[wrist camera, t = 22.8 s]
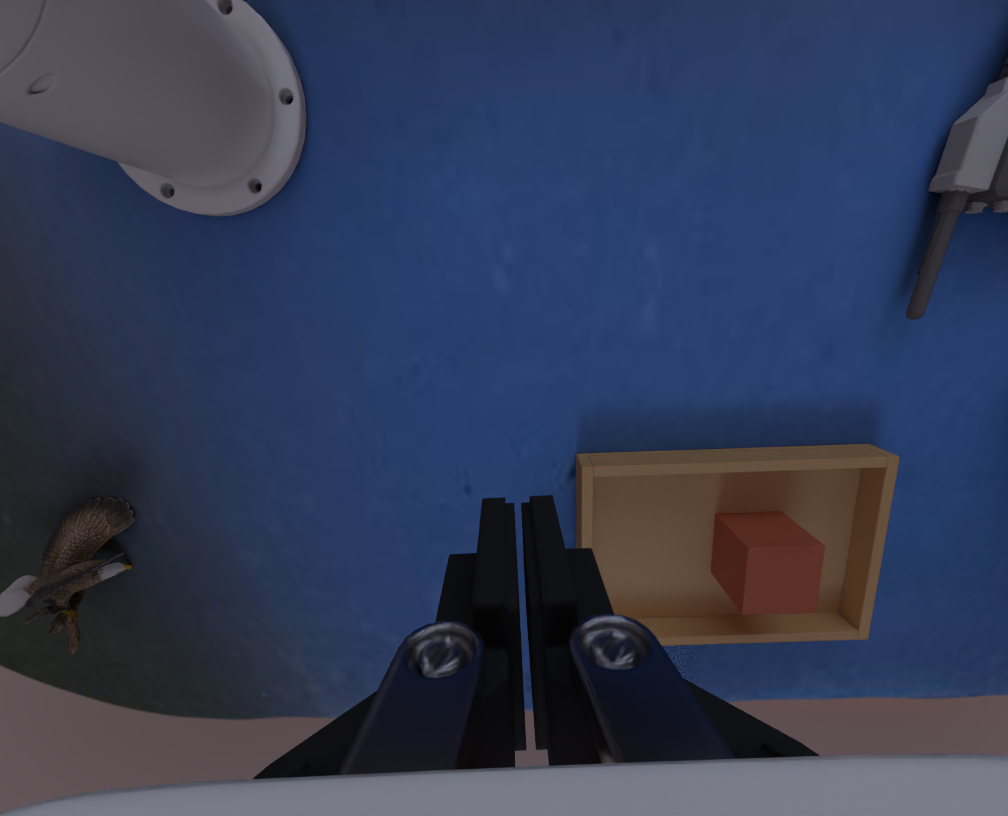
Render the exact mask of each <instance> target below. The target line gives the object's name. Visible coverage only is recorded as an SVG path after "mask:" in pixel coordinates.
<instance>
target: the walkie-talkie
mask: <svg viewBox="0 0 1008 816" xmlns="http://www.w3.org/2000/svg"><path fill="white" fill-rule="evenodd" d="M928 191H930V192H936V193H942V195H941V198H940V200H939V203H938V206H937V209H936V213H937V217H936V220H935V223H934V226H933V229H932V232H931V235H930V238H929V240H928V243H927V246H926V249H925V252H924V255H923V258H922V261H921V264H920V267H919V270H918V273H917V274H918V275H919V276H918V279H917V282H916V285H915V288H914V291H913V294H912V297H911V300H910V303H909V306H908V309H907V312H906V317H907V318H909V319H918V318H920V317H922V316H923V314H924V312H925V310H926V307H927V304H928V301H929V298H930V295H931V292H932V290H933V287H934V284H935V281H936V278H937V275H938V273H939V270H940V267H941V264H942V261H943V258H944V255H945V253H946V250H947V247H948V244H949V241H950V238H951V236H952V233H953V230H954V227H955V224H956V221H957V218H958V216H959V214H960V213H961V212H963V210H964V207H965V206H966V210H965V213H967V214H977V213H978V212H979V213H982V211H983V208H984V207H985V208H991V209H994V211H993V212H997V213H1006V212H1007V211H1008V52H1007V55H1006V59H1005V62H1004V64H1003V68H1002V71H1001V73H1000V75H999V78H998V80H997V82H994V83H992V84H990V85H988V87H987V90H986V93H985V96H983V97H982V98H981V99H980V100H979V101H978V102H977V103H975V104H974V105H973V106H972V107H971V108H970V109H969V110H968V111H967V112H966V113H964V114H963V115H962V116H961V117H960V118H959V119H958V120H957V121H956V122H954V124H953V125H952V128H951V131H950V134H949V137H948V140H947V143H946V146H945V149H944V152H943V154H942V157H941V160H940V163H939V166H938V169H937V172H936V175H935V176H934V177H933V178H932V180H931V183H930V186H929V189H928Z"/></svg>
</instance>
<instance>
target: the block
mask: <svg viewBox="0 0 1008 816" xmlns="http://www.w3.org/2000/svg"><path fill="white" fill-rule="evenodd" d="M824 552H825V545H824V544H822V543H821V542H820V541H818V540H817V539H816V538H815V537H813V536H812V535H811V534H810V533H808V532H807V531H806V530H805V529H803V528H802V527H801V526H800V525H798V524H797V523H796V522H795V521H793V520H792V519H791V518H789V517H788V516H787V515H786V514H784V513H783V512H782V511H775V512H746V513H716V514H715V523H714V536H713V549H712V562H711V573H712V575H713V576H714V577H715V579H716V580H717V581H718V583H719V584H720V586H721V587H722V588H723V590H724V591H725V592H726V594H727V595H728V596H729V598H730V599H731V600H732V602H733V603H734V605H735V606H736V607H737V609H738V610H739V611H740V613H741V614H742V615H748V614H779V613H811V612H816V609H817V602H818V595H819V588H820V580H821V573H822V566H823V559H824Z"/></svg>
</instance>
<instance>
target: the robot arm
mask: <svg viewBox="0 0 1008 816" xmlns="http://www.w3.org/2000/svg"><path fill="white" fill-rule="evenodd" d="M231 11H232V12H231ZM292 98H293V101H292V103H291V104H289V100H290V99H292ZM306 119H307V117H306V106H305V96H304V92H303V88H302V85H301V81H300V77H299V74H298V72H297V69H296V67H295V65H294V63H293V60H292V58H291V56H290V54H289V52H288V51H287V49H286V48H285V46H284V45H283V43H282V41H281V40H280V38H279V37H278V35H277V34H276V33H275V32H274V31H273V30H272V28H271V27H270V26H269V25H268V24H267V23H266V21H265V20H264V19H263V18H262V17H261V16H260V15H259V14H258V13H257V12H256V11H254V10H253V9H252V8H251V7H250V6H249V5H248V4H247V3H246V2H244V1H243V0H0V123H3V124H6V125H9V126H12V127H15V128H18V129H21V130H24V131H27V132H30V133H33V134H36V135H39V136H42V137H45V138H48V139H51V140H54V141H57V142H60V143H63V144H66V145H69V146H72V147H75V148H78V149H81V150H84V151H87V152H90V153H93V154H96V155H99V156H102V157H105V158H108V159H111V160H114V161H117V162H118V163H119V165H120V166H121V167H122V169H123V170H124V171H125V172H126V174H127V175H128V176H129V177H130V178H132V179H133V180H134V181H135V182H136V183H137V184H138V185H139V186H140V187H141V188H142V189H144V190H145V191H146V192H148V193H149V194H151V195H152V196H154V197H155V198H157V199H158V200H160V201H162V202H164V203H166V204H169V205H171V206H173V207H175V208H178V209H181V210H184V211H188V212H191V213H195V214H201V215H208V216H233V215H237V214H240V213H244V212H248V211H251V210H253V209H255V208H256V207H258V206H260V205H262V204H264V203H266V202H267V201H268V200H270V199H271V198H272V197H273V196H274V195H276V194H277V193H278V192H279V191H280V190H281V189H282V187H283V186H284V185H285V184H286V182H287V181H288V180H289V178H290V177H291V176H292V174H293V171H294V169H295V167H296V165H297V163H298V161H299V159H300V156H301V152H302V148H303V145H304V141H305V132H306ZM261 184H262V188H261V190H260V192H259V190H258V187H259V185H261ZM521 508H522V529H523V551H524V572H525V594H526V613H527V628H528V642H529V656H530V671H531V685H532V699H533V713H534V727H535V742H536V749H537V750H542V749H548V759H549V766H532V767H515V751H520V750H526V734H525V713H524V692H523V671H522V651H521V631H520V610H519V590H518V571H517V551H516V531H515V512H514V503H506V504H505V498H484V499H482V508H481V517H480V527H479V537H478V546H477V553H469V554H451V555H450V556H449V559H448V564H447V568H446V573H445V578H444V583H443V588H442V593H441V598H440V602H439V607H438V612H437V617H436V622H435V623H431V624H427V625H425V626H423V627H421V628H419V629H417V630H415V631H414V632H412V633H411V634H410V635H409V636H407V637H406V638H405V639H404V641H403V642H402V644H401V645H400V646H399V648H398V650H397V652H396V654H395V656H394V658H393V660H392V662H391V664H390V666H389V668H388V670H387V672H386V674H385V676H384V678H383V680H382V682H381V684H380V686H379V688H378V690H377V691H376V692H374V693H373V694H372V695H370V696H369V697H367V698H366V699H364V700H363V701H361V702H360V703H358V704H357V705H356V706H354V707H353V708H351V709H350V710H348V711H347V712H345V713H344V714H342V715H341V716H340V717H338V718H337V719H335V720H334V721H332V722H331V723H329V724H328V725H327V726H325V727H324V728H322V729H321V730H319V731H318V732H316V733H315V734H313V735H312V736H310V737H309V738H308V739H306V740H305V741H304V742H302V743H300V744H299V745H297V746H296V747H294V748H293V749H292V750H290V751H289V752H287V753H286V754H285V755H283V756H281V757H280V758H279V759H277V760H276V761H274V762H273V763H271V764H270V765H269V766H268V767H266V768H265V769H264V770H263V771H261V772H260V773H259V774H258V775H257V776H255V777H254V778H253V779H250V780H231V781H211V782H210V781H209V782H192V783H182V784H169V785H157V786H146V787H134V788H123V789H111V790H101V791H95V792H89V793H83V794H77V795H71V796H65V797H59V798H54V799H50V800H46V801H42V802H38V803H35V804H30V805H27V806H23V807H19V808H15V809H11V810H8V811H4V812H0V816H1008V756H999V755H986V754H872V755H840V756H819V755H818V754H817V753H815V752H813V751H812V750H810V749H809V748H808V747H806V746H805V745H803V744H802V743H800V742H798V741H797V740H795V739H793V738H791V737H789V736H788V735H786V734H784V733H782V732H780V731H778V730H777V729H774V728H773V727H771V726H769V725H767V724H766V723H764V722H762V721H760V720H758V719H756V718H755V717H753V716H751V715H749V714H747V713H745V712H744V711H742V710H740V709H738V708H736V707H735V706H732V705H731V704H729V703H727V702H726V701H724V700H722V699H720V698H718V697H716V696H715V695H713V694H711V693H709V692H707V691H705V690H704V689H702V688H700V687H698V686H696V685H695V684H693V683H691V682H689V681H687V680H685V679H684V678H683V677H682V676H681V674H680V673H679V671H678V670H677V668H676V667H675V665H674V664H673V662H672V661H671V659H670V658H669V656H668V655H667V653H666V651H665V650H664V648H663V647H662V645H661V644H660V642H659V641H658V639H657V638H656V636H655V635H654V634H653V633H652V632H651V631H650V630H649V628H648V627H646V626H645V625H643V624H642V623H640V622H638V621H637V620H634V619H632V618H629V617H626V616H623V615H617V614H614V612H613V609H612V606H611V603H610V600H609V597H608V594H607V591H606V588H605V585H604V583H603V580H602V577H601V574H600V571H599V568H598V565H597V562H596V559H595V556H594V553H593V551H592V549H591V548H576V549H565V546H564V542H563V537H562V533H561V529H560V525H559V521H558V516H557V512H556V508H555V504H554V499H553V496H552V495H547V496H530V502H527V503H521Z"/></svg>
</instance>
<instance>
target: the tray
mask: <svg viewBox="0 0 1008 816" xmlns="http://www.w3.org/2000/svg"><path fill="white" fill-rule="evenodd" d="M899 458H900V457H899V456H897V455H895V454H892V453H890V452H888V451H885V450H883V449H881V448H878V447H876V446H873V445H871V444H848V445H818V446H789V447H759V448H729V449H700V450H670V451H640V452H611V453H581V454H576V548H591V549H592V551H593V553H594V556H595V559H596V562H597V565H598V568H599V571H600V574H601V577H602V580H603V583H604V585H605V588H606V591H607V594H608V597H609V600H610V603H611V606H612V609H613V612H614V614H617V615H623V616H626V617H629V618H632V619H634V620H637V621H638V622H640V623H642V624H643V625H645V626H646V627H648V628H649V630H650V631H651V632H652V633H653V634H654V635H655V636H656V638H657V639H658V641H659V642H660V644H661V645H662V646H666V645H698V644H731V643H764V642H796V641H829V640H857V639H858V640H865V639H868V635H869V630H870V624H871V618H872V613H873V607H874V601H875V595H876V590H877V584H878V578H879V572H880V567H881V561H882V555H883V550H884V544H885V538H886V532H887V527H888V521H889V515H890V510H891V504H892V498H893V492H894V487H895V481H896V475H897V470H898V464H899ZM775 511H782V512H783V513H784V514H786V515H787V516H788V517H789V518H791V519H792V520H793V521H795V522H796V523H797V524H798V525H800V526H801V527H802V528H803V529H805V530H806V531H807V532H808V533H810V534H811V535H812V536H813V537H815V538H816V539H817V540H818V541H820V542H821V543H822V544H824V545H825V552H824V559H823V566H822V573H821V580H820V588H819V595H818V602H817V609H816V612H811V613H779V614H748V615H742V614H741V613H740V611H739V610H738V609H737V607H736V606H735V605H734V603H733V602H732V600H731V599H730V598H729V596H728V595H727V594H726V592H725V591H724V590H723V588H722V587H721V586H720V584H719V583H718V581H717V580H716V579H715V577H714V576H713V575H712V573H711V562H712V549H713V536H714V523H715V514H716V513H746V512H775Z"/></svg>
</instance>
